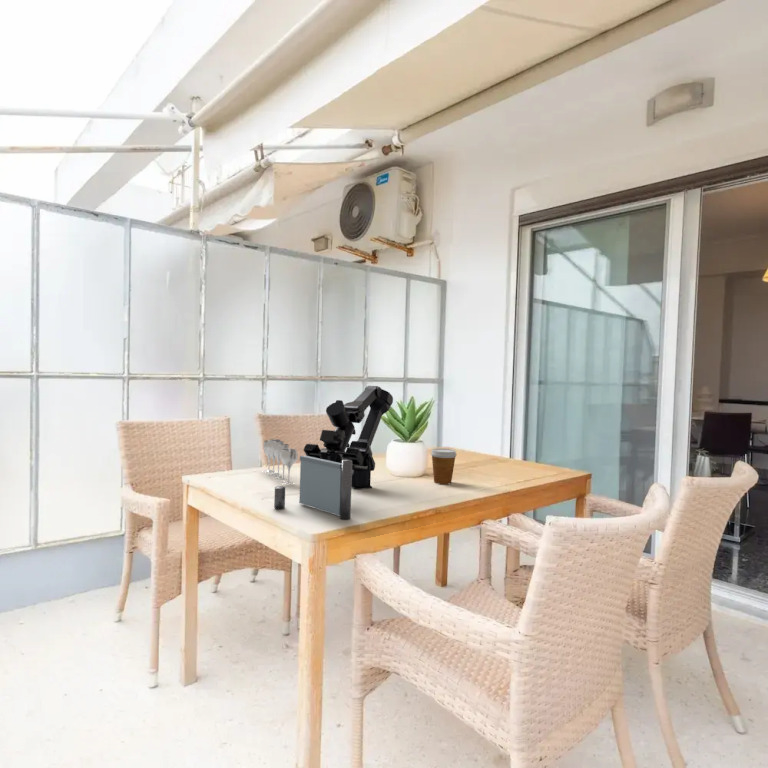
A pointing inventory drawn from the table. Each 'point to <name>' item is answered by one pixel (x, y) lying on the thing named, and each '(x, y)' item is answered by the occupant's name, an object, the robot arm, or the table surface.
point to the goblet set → (280, 456)
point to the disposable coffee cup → (443, 465)
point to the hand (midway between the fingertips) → (323, 477)
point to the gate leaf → (320, 484)
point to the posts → (345, 491)
